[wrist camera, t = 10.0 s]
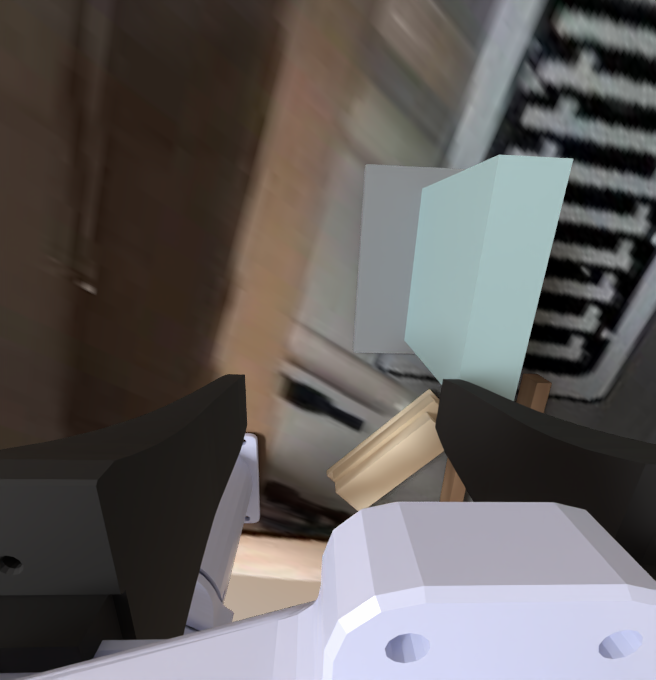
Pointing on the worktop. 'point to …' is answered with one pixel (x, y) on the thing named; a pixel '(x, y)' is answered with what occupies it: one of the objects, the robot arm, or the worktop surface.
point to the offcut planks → (389, 454)
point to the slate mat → (388, 253)
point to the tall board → (483, 267)
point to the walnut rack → (529, 395)
